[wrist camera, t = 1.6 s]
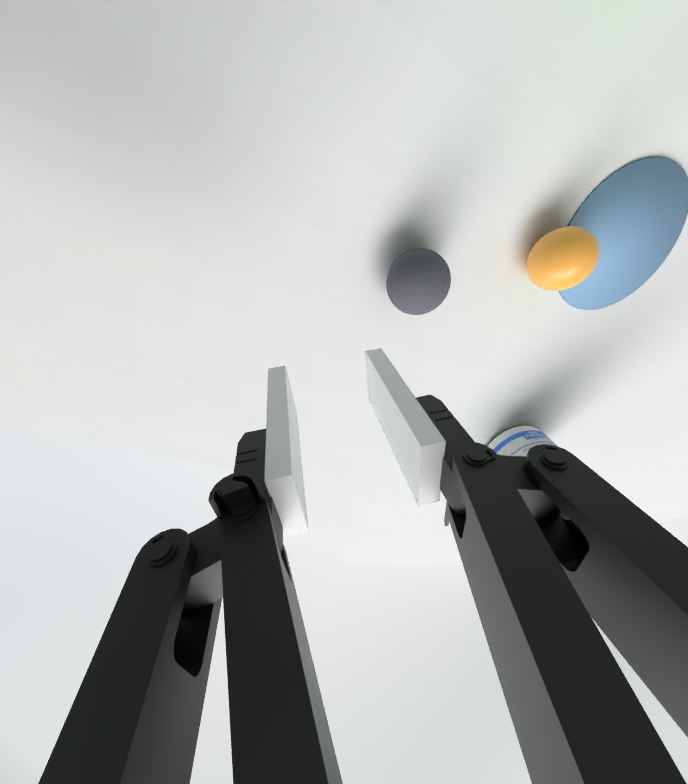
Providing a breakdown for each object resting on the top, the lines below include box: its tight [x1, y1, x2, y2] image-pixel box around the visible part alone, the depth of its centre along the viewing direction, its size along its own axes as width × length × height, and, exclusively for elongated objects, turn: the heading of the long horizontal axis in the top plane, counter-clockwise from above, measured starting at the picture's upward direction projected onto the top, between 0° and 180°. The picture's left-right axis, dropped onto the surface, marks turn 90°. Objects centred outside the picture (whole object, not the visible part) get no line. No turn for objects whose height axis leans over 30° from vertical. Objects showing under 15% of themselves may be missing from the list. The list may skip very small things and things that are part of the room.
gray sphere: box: [386, 248, 451, 315], centre depth 27 cm, size 6×6×6 cm
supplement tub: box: [488, 426, 558, 456], centre depth 40 cm, size 10×10×15 cm
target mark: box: [559, 157, 688, 310], centre depth 32 cm, size 14×14×1 cm
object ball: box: [527, 226, 600, 291], centre depth 29 cm, size 6×6×6 cm
